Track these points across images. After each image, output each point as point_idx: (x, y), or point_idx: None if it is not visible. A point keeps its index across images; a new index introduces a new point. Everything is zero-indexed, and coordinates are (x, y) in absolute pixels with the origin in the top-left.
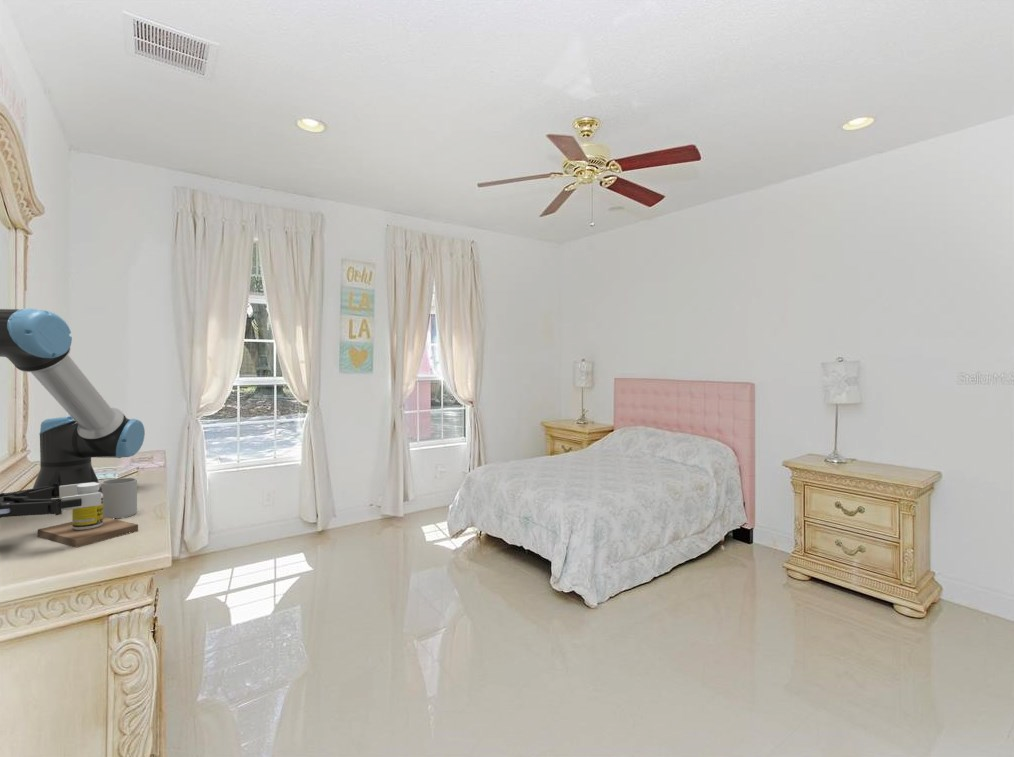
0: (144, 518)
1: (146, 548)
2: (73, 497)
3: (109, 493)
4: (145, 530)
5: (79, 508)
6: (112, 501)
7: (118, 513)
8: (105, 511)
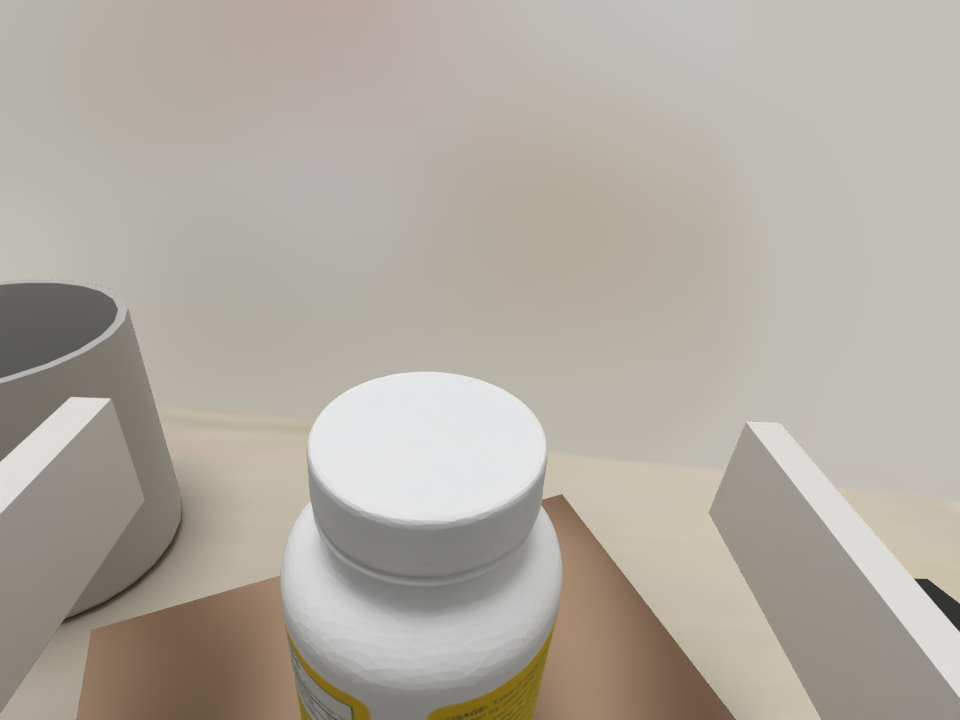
0: (306, 470)
1: (894, 535)
2: (950, 637)
3: None
4: None
5: (531, 690)
6: None
7: (160, 532)
8: None
